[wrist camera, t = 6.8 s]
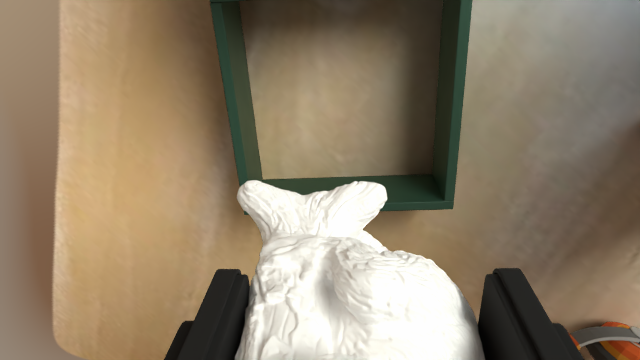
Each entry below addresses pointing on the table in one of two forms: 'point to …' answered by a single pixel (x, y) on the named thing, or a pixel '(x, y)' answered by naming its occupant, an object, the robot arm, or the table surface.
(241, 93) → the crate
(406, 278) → the white squirrel figurine
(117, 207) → the table surface
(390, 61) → the table surface
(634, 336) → the headphones
